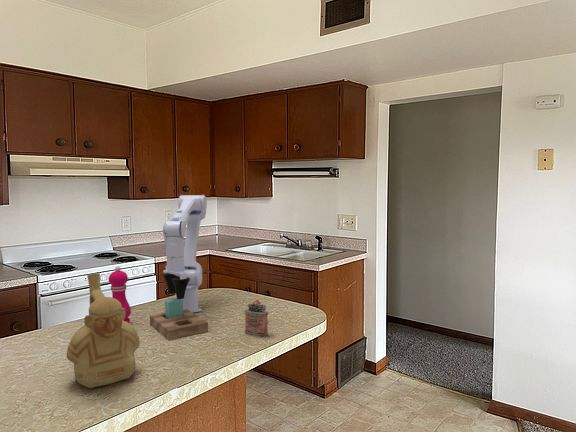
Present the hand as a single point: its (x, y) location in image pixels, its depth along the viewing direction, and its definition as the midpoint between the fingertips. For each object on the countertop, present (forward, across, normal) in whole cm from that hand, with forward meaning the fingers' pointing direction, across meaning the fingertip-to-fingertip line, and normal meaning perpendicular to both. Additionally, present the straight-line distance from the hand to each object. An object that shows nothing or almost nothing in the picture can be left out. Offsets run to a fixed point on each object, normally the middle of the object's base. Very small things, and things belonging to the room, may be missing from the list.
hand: (176, 296), depth 151 cm
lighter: (+10, +24, +17) cm, 31 cm away
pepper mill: (+10, -9, -16) cm, 21 cm away
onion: (+10, +14, +23) cm, 29 cm away
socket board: (+9, +5, -1) cm, 10 cm away
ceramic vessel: (+10, +29, -29) cm, 42 cm away
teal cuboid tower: (+9, 0, -1) cm, 9 cm away
